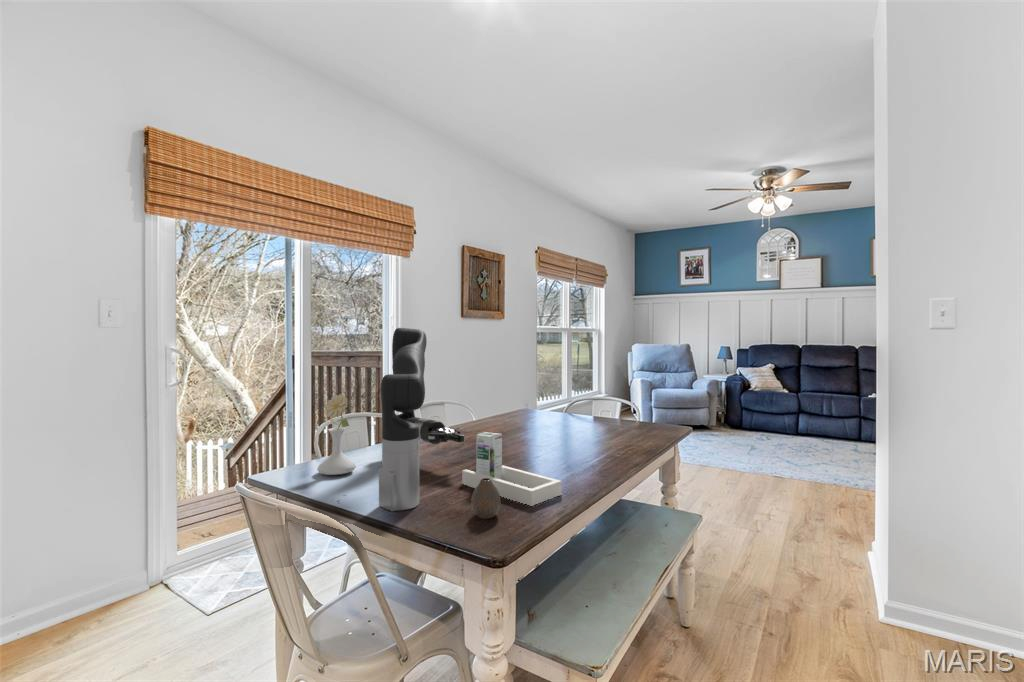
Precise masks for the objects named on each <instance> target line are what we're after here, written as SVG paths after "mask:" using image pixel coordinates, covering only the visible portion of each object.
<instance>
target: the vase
mask: <svg viewBox="0 0 1024 682" xmlns="http://www.w3.org/2000/svg"><path fill="white" fill-rule="evenodd" d="M471 508H472V511H473V512H474V514H475V515H476V516H477V517H478V518H480V519H487V520H488V519H492V518H494V517H495V516H496V515H497V514H498V513H499V510H500V508H501V497H500V494H499V491H498V489H497V488H496V487H495V485H494V484H493V483H492V481H491V479H490V478H483V479H481V481H480V483H479V484H478V486H477V487H476V488H474V490H473V491H472V496H471Z"/></svg>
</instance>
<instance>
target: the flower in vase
mask: <svg viewBox="0 0 1024 682" xmlns="http://www.w3.org/2000/svg"><path fill="white" fill-rule="evenodd" d="M325 406H326V407H325V416H327V417H328V418H329V419H330V421H331V422H332V423H334V424H336V425H338V427H332V428H328V429H327V430H328V432H329V433H330V435H331V439H332V452H331V453H330V455H329V456H327V458H325V459H324V460H323V461H322V462H320V463H319V465H318V467H317V472H318V473H319V474H321V475H326V476H339V475H344V474H348V473H350V472H353V471H354V470H355V469H356V468H357V466H356V463H355V461H353V460H352V459H350V458H349V457H348V456H346V455H345V454H344V453H343V452H342V449H341V447H342V446H341V442H342V435H343V433H344V432H345V430H346V428H347V427H349V426H350V425H349V422H348V421H349V420H348V419H347V418H345V419H344V418H343V412H345V411H346V408H348V398H347V397H346V396H344V395H343V394H341V393H340V394H338V395H337V394H335V395H334V396H332V397H331V399H328V401H327V404H326V405H325ZM340 416H341V418H340V419H341V420H340V422H339V421H337V420H335V418H336V417H337V418H338V417H340ZM345 427H346V428H345Z"/></svg>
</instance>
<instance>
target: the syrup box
mask: <svg viewBox="0 0 1024 682" xmlns="http://www.w3.org/2000/svg"><path fill="white" fill-rule="evenodd" d="M475 436H476V444H475V445H476V447H475V448H476V466H475V467H476V471H475V472H477V473H480V474H484V475H487V476H491V477H494V478H497V479H501V480H502V465H503V434H502V433H496V432H488V431H485V432H480V433H478V434H476V435H475Z"/></svg>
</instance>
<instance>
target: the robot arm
mask: <svg viewBox="0 0 1024 682" xmlns="http://www.w3.org/2000/svg"><path fill="white" fill-rule="evenodd" d="M427 341H428V340H427V335H426V333H425V331H424V330H422V329H417V328H406V327H397V328H396V329H394V331H393V335H392V344H391V345H392V346H391V355H392V359H391V360H392V364H391V365H392V374H391V373H389V374H385V375H384V376H383V377H382V378H381V383H380V402H381V417H382V418H381V421H382V423H381V440H382V441H381V452H382V453H381V461H382V462H381V467H380V468H378V506H379V507H381V508H383V509H385V510H386V511H389V510H390V512H397V511H407V510H410V509H413V508H416V507H418V506H419V504H420V441H421V442H425V443H428V444H431V445H438V444H440V443H441V442H442V443H447V442H455V443H464V442H465V435H464V434H461V428H460V427H455V429H452V428H450V427H447V426H445V424H444V423H443V422H442V421H440V420H439V421H438V420H434V419H429V418H421V417H416V415H415V414H416V413H415V411H416V410H419V409H421V408H422V406H423V404H424V401H425V398H426V385H425V378H424V374H425V368H426V367H425V366H426V365H425V364H426V360H425V359H426V358H425V357H426V356H425V353H426V349H427V343H428V342H427ZM396 412H398V413H400V414H396Z"/></svg>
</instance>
